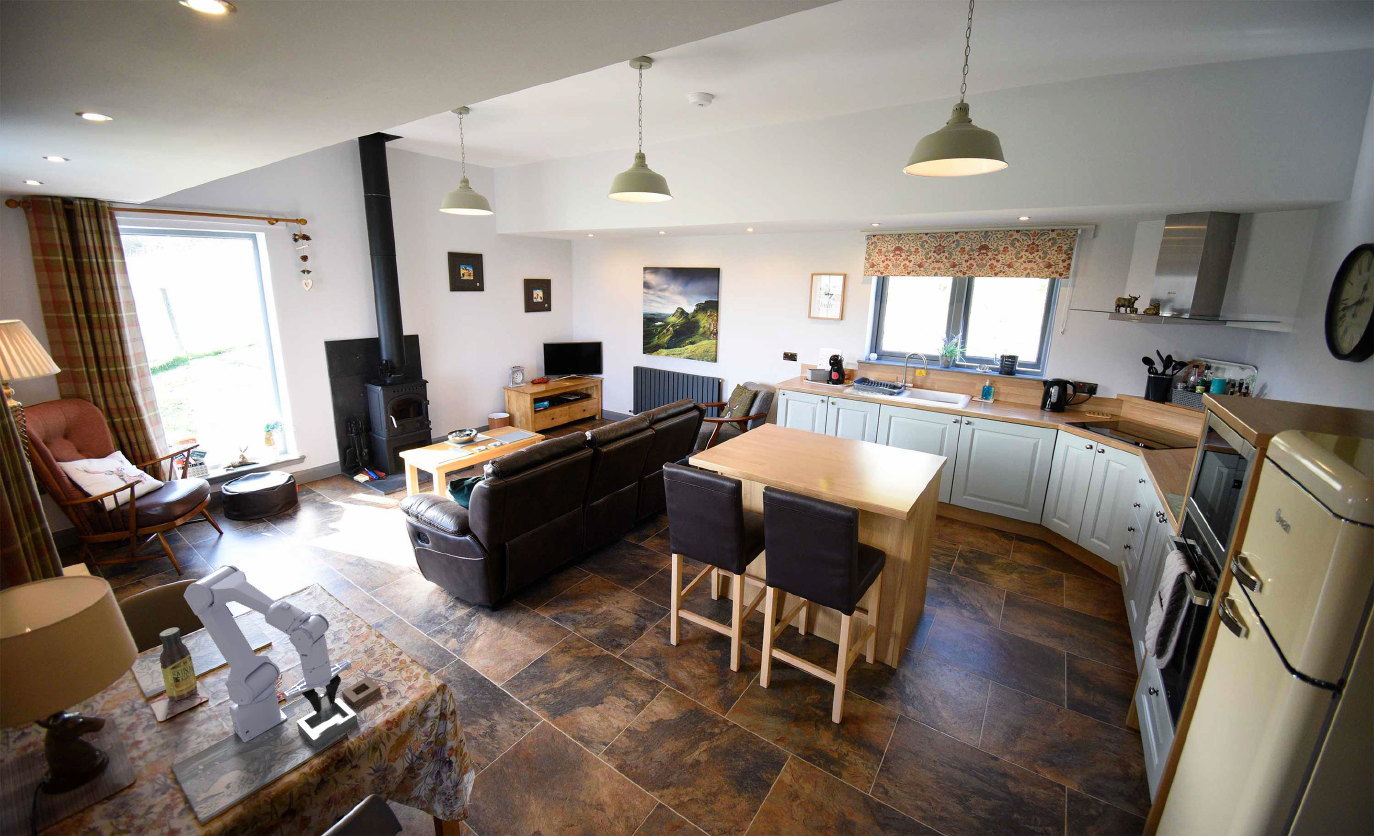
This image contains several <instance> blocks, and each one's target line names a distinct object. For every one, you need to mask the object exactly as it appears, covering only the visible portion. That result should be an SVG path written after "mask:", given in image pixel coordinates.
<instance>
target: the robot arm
mask: <svg viewBox="0 0 1374 836" xmlns="http://www.w3.org/2000/svg"><path fill="white" fill-rule="evenodd" d="M183 598H184V599H185V601H186V602H187V604H188V606H189V607H190V608H191V610H192V612H193V614H194V615H195V616H197V617H198V619H199V620H200V622H201V624H202V625H203V626H204V628H205V630H206V631H207V633H208V634H209V636H210V638H211V639H212V641H213V643H214V644H215V646H216V648H217V649H218V650H219V652H220V654H221V655H222V656H223V658H224V660H225V661H226V663H227V665H228V666H229V668H230V670H229V674H228V675H227V678H226V680H225V682H224V684H225V686H226V688H227V691H228V697H229V699H230V700H231V701H232V702H233V704H231V705H230V706H229V708H228V709H229V714H230V717H231V722H232V725H233V730H234V731H235V733H236V734H237V736H238V737H239V738H240V739H241V741H242V742H243V743H246V742H249V741H250V740H252V739H254V738H256V737H257V736H260V735H261V734H262V733H265V732H266V731H268V730H270V729H271V728H273V727H275V726H277V725H279V724H281V723H282V722H284V721H287V719H288V715H286V714H285V713H284V711H283V710H282V709H281V708H280V704H279V700H278V696H277V690H276V685H277V684H278V683H277V680H278V679H279V678H280V676H281V670H280V667H279V666H278V665H277V663H275V662H273V660H271V659H270V657H269V655H256V653H255V652H254V650H253V648H252V646H251V645H250V643H249V641H248V640H247V638H246V636H245V635H244V633H243V631H242V630H241V628H240V627H239V625H238V624H237V622H236V621H235V619H234V616H232V613H231V612H230V611H229V610H230V609H228V608H227V607H228V606H227V605H226V604H227V603H232V602H235V603H238V604H239V605H242V606H244V607H247V608H249V609H250V610H253V611H254V612H257V613H259V614H262V615H263V616H264V620H265V623H266V624H269V625H270V626H272V627H273V628H275V629H277V630H278V631H280V632H282V633H284V634H285V635H287V636H289V637H288V640H289V642H290V643H291V644H292V645H293V647H294V648H295V651H296V652H297V654H299V659H300V664H301V669H302V673H303V678H302V679H301V680H300V681H299V682H298V683H296V684H295V685H294V686H292V687H291V688H289V689H287V690H286V691H284V692H283V694H284V700H286V701H287V702H288V703H290V702H292V701H293V700H294V699H295V698H297V697H298V696H300V695H302V696H303V697H304V698H305V699H306V700H307V701H309V703H310V705H311V706H312V709H313V712H314V711H315V712H316V713H319V712H320V706H319V703H318V694H319V692H317V691H316V688H319V687H320V688H324V687H325V691H328V692H329V697H330V702H331V704H332V705H333V704H335V699H336V696H337V691H338V689H339V686H340V684H341V682H342V678H341V677H340V676H339V674H341V673H342V672H344V671H349V670H351V669H352V663H351V662H352V661H350V660H349V659H345V660H343V661H341V662H338V663H334V664H331V661H330V657H329V649H328V644H327V640H326V636H325V635H326V634H325V633H326V632H328V630H329V628H330V623H329V621H328V619H327V618H326V617H325V616H323V615H322V614H321V613H318V612H310V611H309V612H305V611H303V610H301V609H299V608H298V607H296V606H295V605H293V604H291V603H290V602H287V601H285V600H284V601H275V600H274V599H272V598H271V597H269V596H268V595H267V594H265V593H264V592H263V591H261V590H260V589H258V588H257V587H255V586H254V585H253V584H252V583H250V582H248V581H247V577H246V574H245V572H244V571H243V570H241V569H240V568H239V567H237V566H236V565H233V564H225V565H222V566H220V567H219V568H218V569H216V570H214V571H212V572H210V573H208V574H207V575H205V576H204V577H202V578H200V579H198V580H197V581H196V582H192V583H190V584H189V585H188V586H187V587H186V589H185V591H184V594H183Z"/></svg>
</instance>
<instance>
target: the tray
mask: <svg viewBox="0 0 1374 836" xmlns="http://www.w3.org/2000/svg"><path fill="white" fill-rule="evenodd" d="M331 707H332V712H333V717H332V718H331V719H330V720H328V721H326V722H322V721H321V720H320V716H319V713H316V712H315V711H314V710H313V711H312V712H310V713H308V714H307V715H305V716H303V717H302V718H299V720H297V721H296V724H297V730H298V732H299V733H300V734H301V735H302V736H303V738H304V739H305V740H306V741H307V742H308V743H309V744H310V746H312V748H313V749H314V750H315V751H316V750H318V749H319V748H321V747H323V746H324V745H326V744H327V743H329V742H330V741H332V740H334V739H335V738H337V737H339V736H340V735H342V734H344V733H345V732H347V731H348V730H349V729H351V728H353V727H355V726H357V725H358V724H359V722H358V718H357V717H358V716H357V713H356V712H354V711H353V709H351V708H350V707H349V706H348V705H347V704H346V703H345V702H344V701H343V700H342V699H341V698H340V697H337V698H335V704H333V705H332V704H331Z"/></svg>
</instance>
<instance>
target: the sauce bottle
mask: <svg viewBox="0 0 1374 836" xmlns="http://www.w3.org/2000/svg"><path fill="white" fill-rule="evenodd" d="M159 639H160V641H161V643H162V651H161V653H160V655H159V663H160V668H161V669H160V670H161V673H162V679H163V683H164V687H165V690H166V691H165V692H166V694H167V697H168V699H169V700H170V701H174V702H177V701H180V700H185V699H186V698H188V697H190V696H192V695H193V694H194V693H195V692H196V691H197V689H198V687H197V686H198V685H197V684H198V682H197V678H196V672H195V668H194V663H193V659H192V654H191V652H190V650H189V649H188V647H187V645H186V644H184V642H183V641H182V638H181V630H180V628H179V627H170V628H167V629H165V630H162V631H161V632H160V633H159Z"/></svg>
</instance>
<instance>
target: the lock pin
mask: <svg viewBox="0 0 1374 836" xmlns="http://www.w3.org/2000/svg"><path fill="white" fill-rule="evenodd" d="M318 703H319V706H320V712H319V716H320V720H321V721H322V722H326V721H328V720H330V719H331V718H332V717H333V712H332V707H331V702H330V697H329V692H328V691H326V690H323V691H321V692H318Z"/></svg>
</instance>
